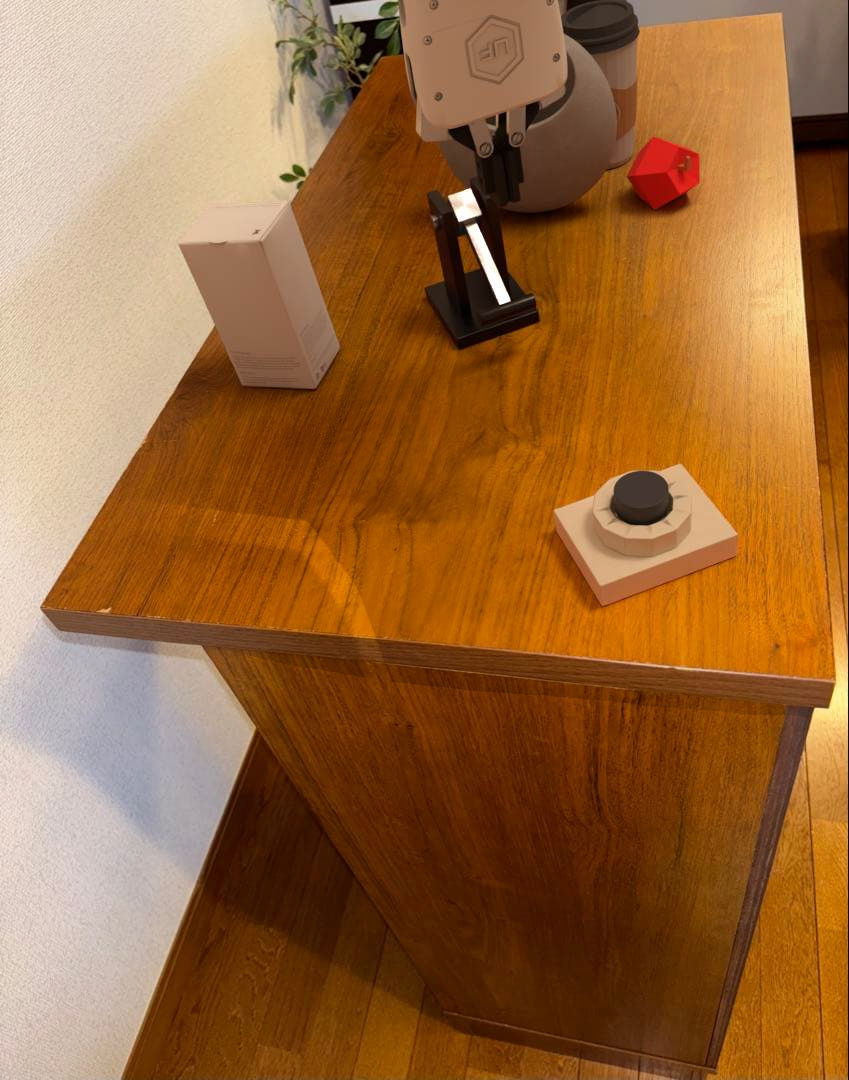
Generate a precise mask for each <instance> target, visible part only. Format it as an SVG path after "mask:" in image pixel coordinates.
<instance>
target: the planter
mask: <svg viewBox="0 0 849 1080" xmlns="http://www.w3.org/2000/svg"><path fill="white" fill-rule="evenodd" d="M564 40H565V47H566V55H567V80H566V82H565V84H564V85H565V94H564V95H563V96H562V97H561V98H560V99H558V100H556V101H555V102H553V103H552V104H550V105H548V106H547V107H545V108H544V109H540V110H539V111H538V113H537V115H536V116H535V118H534V119H533V121H532V123H531V124H530V126H529V127H528V129H527V131H526V132H525V141H524V143H523V144H522V145H521V146H520V151H521V159H522V167H523V174H524V182H523V183H520V184H519V189H520V197H521V201H519V202H516V203H513V202H510V201H509V203H507V206H504V207H501V208H500V207H499V209H503V210H506V211H510V212H514V213H515V212H516V213H524V214H535V213H536V214H537V213H545V212H551V211H554V210H557V209H560V208H564V207H565V206H568V205H570V204H572V203H574V202H575V201H577V200H579V199H580V198H582V197H583V196H585V195H586V194H587V193H589V191H590V190H592V189H593V188H594V187H595V185H596V184H597V183H599V181H600V180H601V178H602V177H603V175H604V174H605V172H606V170H608V169H607V167H608V165H609V162H610V160H611V157H612V154H613V151H614V147H615V142H616V135H617V114H616V108H615V103H614V98H613V95H612V92H611V89H610V86H609V84H608V81H607V79H606V77H605V75H604V73H603V72H602V70H601V68H600V67H599V65H598V64H597V63H596V61H595V60H594V59H593V57H592V56H591V55H590V54H589V53H588V52H587V51H586V50H585V49H584V48H583V47H582V46H581V45H580V44H579V43H577V42H576V41H575V40H573V39H572V38H570V37H569V36H567V35H565V34H564ZM485 120H486V123H487V127H488V130H489V133H490V136H491V139H492V136H494V135H495V131H496V115H495V116H492V117H489V118H486V119H485ZM492 140H493V139H492ZM437 143H438V146H439V149H440V152H441V154H442V156H443V159H444V160H445V162H446V164H447V165H448V167H449V169H450V170H451V172H452V173H453V175H454V176H455V177H456V179H457V180H458V181H459V183H461V184H462V186H464V187H465V188H466V189H469V188H471V187H470V181H469V179H470V178H473V177H476V176H478V175H477V169H476V163H475V157H474V151H472V150H470V149H469V148H467V147H465V146H464V145H462V144H460V143H459V142H457V141H455V140H448V141H437Z"/></svg>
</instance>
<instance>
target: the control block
mask: <svg viewBox="0 0 849 1080" xmlns="http://www.w3.org/2000/svg"><path fill="white" fill-rule="evenodd" d="M635 471H650V472H654V473H657V474H659V475H660V476H662V477H663V478H664V479H665V480H666V482H667V484H668V487H669V510H668V512H667V514H666V515H665V517H664V518H663V519H661V520H660V521H658V522H657V523H654V524H651V525H647V526H641V525H630V524H628V523H625V522H624V521H622V520H621V519H620V518H619V517H618V516H617V514H616V512H615V504H614V486H615V484H616V482H617V481H618V480H619V479H620V478H621V477H622V476H624V475H626V474H628V473H631V472H635ZM553 517H554V524H555V531H556V533H557V534H558V536H559V538H560V539H561V541H562V543H563V545H564V546H565V548H566V550H567V551H568V553H569V555H570V556H571V557H572V559H573V561H574V563H575V565H576V566H577V568H578V569H579V571H580V573H581V574H582V576H583V578H584V579H585V581H586V582H587V585H588V586H589V588H590V589H591V591H592V592H593V594H594V596H595V598H596V600H597V601H598V602H599V604H600V606H601V607H605V606H607V605H610V604H613V603H615V602H618V601H621V600H624V599H626V598H629V597H631V596H634V595H638V594H640V593H642V592H645V591H647V590H651V589H653V588H655V587H658V586H660V585H663V584H667V583H668V582H671V581H674V580H676V579H679V578H682V577H684V576H687V575H689V574H692V573H694V572H698V571H699V570H703V569H705V568H709V567H710V566H711V567H712V566H713V565H716V564H719V563H721V562H724V561H727V560H729V559H733V558H735V557H737V555H738V542H739V541H738V540H739V534H738V532H737V531H736V530H735V529H734V528H733V526H732V525H731V523H730V522H729V521H728V520H727V519H726V517H724V515H723V514H722V513H721V511H720V510H719V509H718V507H717V506H716V504H714V502H713V501H712V500H711V498H709V496H708V495H707V494H706V493H705V491H704V490H703V489H702V487H701V486H700V485H699V484H698V483H697V481H696V480H695V479H694V478H693V476H692V475H691V474H690V473H689V471H688V470H687V469H686V468H685V467H684V465H683V464H682V463H678V464H675V465H672V466H670V467H667V468H663V469H661V470H640V469H639V470H633V469H632V470H630V471H627V472H624V473H621V474H619V475H616V476H613V477H610V478H609V479H608V480H607V481H606V482H605V483H603V485H602V486H601V487H600V488H599V489H598V490H597V491H596V492H595V493H594V494H593V495H590V496H588V497H585V498H582V499H580V500H577V501H574V502H572V503H569V504H566V505H564V506H560V507H559V508H558V507H557V508H556V509H553Z"/></svg>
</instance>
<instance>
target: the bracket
mask: <svg viewBox="0 0 849 1080" xmlns="http://www.w3.org/2000/svg"><path fill="white" fill-rule="evenodd" d="M469 181H470V187H471V190H472V192H473V194H474V197H475V199H476V201H477V204H478V206H479V208H480V210H481V213H482V223H481V230H480V231H481V233H482V236H483V238H484V240H485V243H486V245H487V247H488V249H489V252H490V254H491V256H492V258H493V261H494V263H495V265H496V268H497V270H498V272H499V274H500V277H501V279H502V281H503V284H504V286H505V288H506V290H507V293H508V295H509V297H510V299H511V300H512V299H515V298H518V297H521V296H524V295H527V294H526V293H525V291H524V290H523V289H522V287H521V286H520V285H519V284H518V282H517V281H516V280H515V278H514V277H513V276H512V274H511V273H510V272H509V270H508V262H507V257H506V249H505V244H504V237H503V230H502V223H501V218H500V217H501V216H500V215H501V214H500V208H499V206H498V205H497V204H496V203H495V202H494V200H493V199H492V198H491V197H490V196H489V194H488V195H484V194H483V193H482V191H481V189H480V186H479V182H478V176H476V177H473V178H470V179H469ZM426 197H427V202H428V207H429V212H430V215H429V221H430V225H431V228H432V230H433V232H434V237H435V242H436V246H437V252H438V257H439V263H440V266H441V271H442V277H443V280H441V281H439V282H436V283H433V284H430V285H428V286H425V287H424V293H425V294H424V295H425V298H426V299H427V301H428V303H429V305H430V306H431V307H432V309H433V311H434V313H435V314H436V316H437V317H438V318H439V320H440V322H441V323H442V325H443V327H444V329H445V330H446V332H447V333H448V335H449V336H450V339H452V341H453V343H454V344H455V346H456V348H457V349H458V350H462V349H466V348H468V347H470V346H473V345H476V344H479V343H482V342H485V341H488V340H491V339H493V338H497V337H500V336H502V335H506V334H508V333H510V332H514V331H516V330H519V329H522V328H525V327H528V326H530V325H534V324H536V323H539V322H540V321H541V320H540V311H539V309H538V308H537V307H536V308H534V309H532V310H529V311H526V312H523V313H520V314H517V315H514V316H512V317H509V318H506V319H503V320H500V321H497V322H494V323H492V324H489V325H486V326H483V327H481V325H480V324H479V321H478V318H477V312H478V311H481V310H484V309H487V308H490V307H492V306H495V305H496V303H495V301H494V298H493V296H492V294H491V291H490V289H489V287H488V285H487V282H486V280H485V278H484V275H483V273H482V271H481V268H480V267H479V268H477V269H473V270H471V271H467V272H465V269H464V263H463V259H462V252H461V248H460V242H459V237H458V236H457V230H456V225H455V220H454V214H453V210H452V209H451V207H450V206H449V205H448V203H447V200H446V199H445V197H443V195H442V194H441V193H440V191H439V190H438V189H434V190H431V191H428V192H426Z"/></svg>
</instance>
